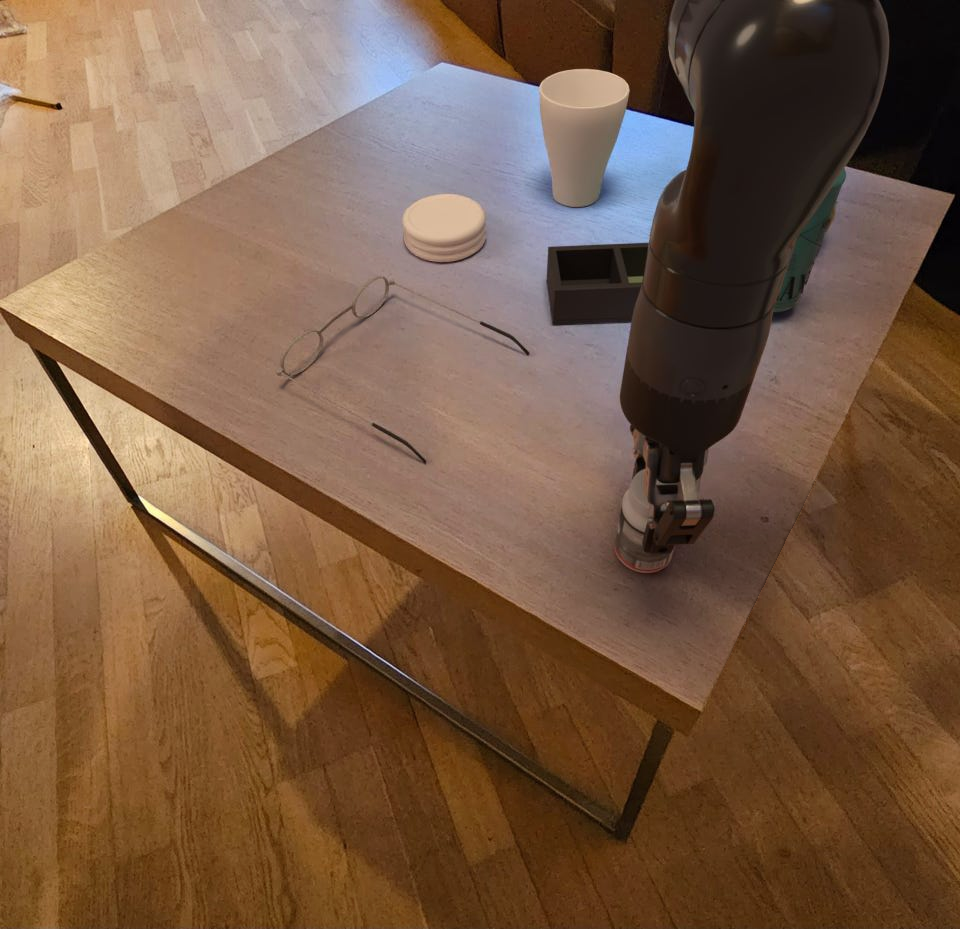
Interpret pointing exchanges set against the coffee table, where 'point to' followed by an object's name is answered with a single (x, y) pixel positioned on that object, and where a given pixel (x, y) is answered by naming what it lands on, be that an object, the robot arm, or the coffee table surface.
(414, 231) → the white jar lid
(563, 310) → the holder
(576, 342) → the coffee table surface
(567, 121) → the cup
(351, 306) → the eyeglasses
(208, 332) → the coffee table surface
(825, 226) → the beverage bottle
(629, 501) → the pill bottle
